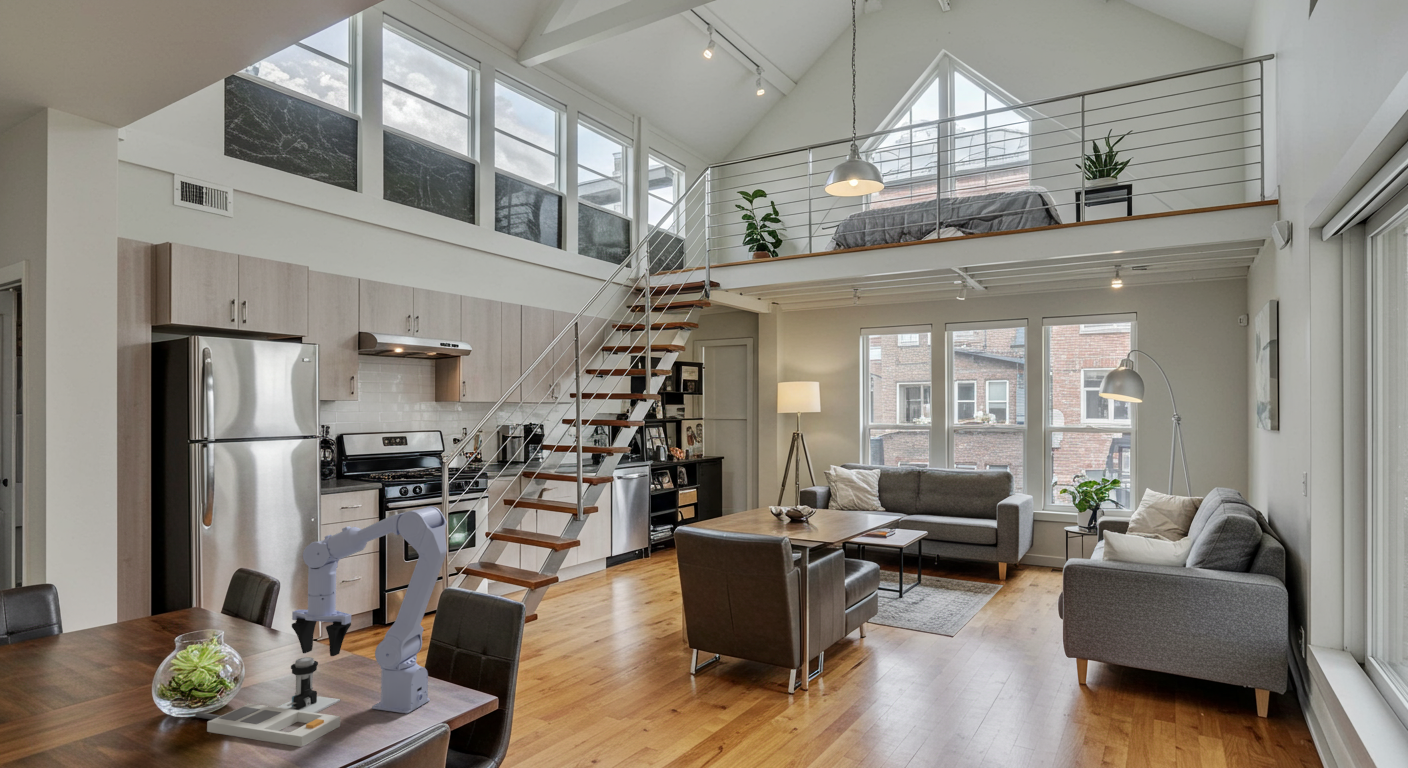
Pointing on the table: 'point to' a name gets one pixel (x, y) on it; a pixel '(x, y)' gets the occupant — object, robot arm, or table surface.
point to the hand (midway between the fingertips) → (320, 653)
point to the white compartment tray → (271, 724)
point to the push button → (304, 683)
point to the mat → (318, 706)
